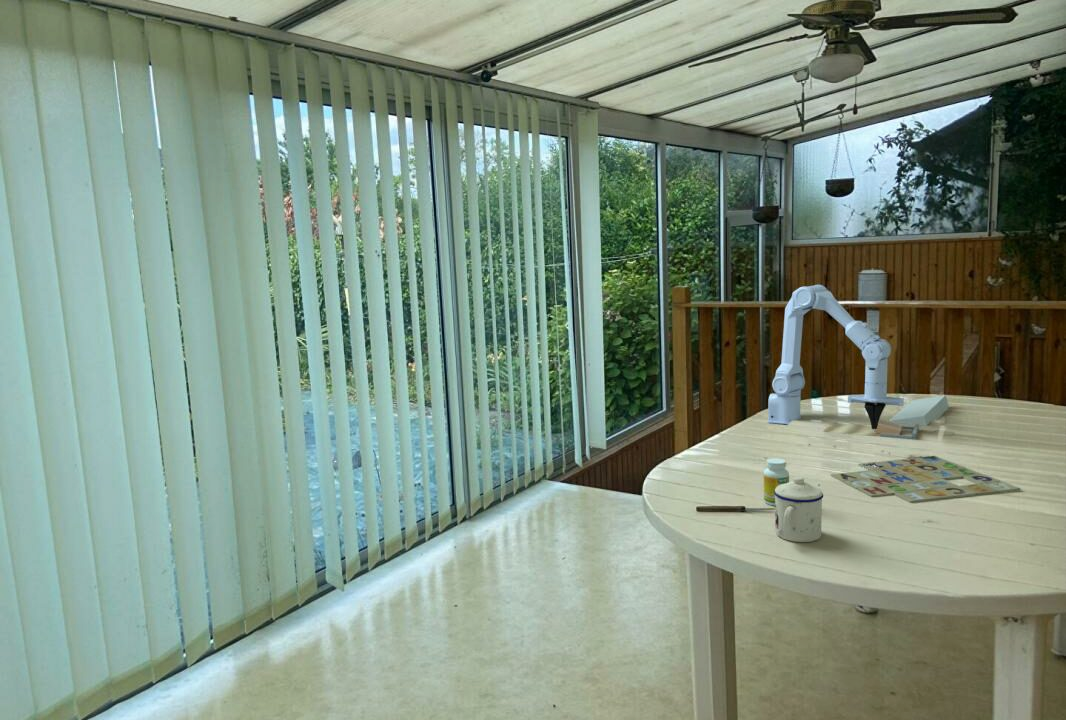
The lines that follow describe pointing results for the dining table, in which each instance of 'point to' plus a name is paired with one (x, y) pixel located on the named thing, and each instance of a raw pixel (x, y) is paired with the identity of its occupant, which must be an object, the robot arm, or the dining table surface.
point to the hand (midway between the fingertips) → (874, 428)
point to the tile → (888, 428)
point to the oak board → (851, 429)
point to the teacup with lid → (798, 511)
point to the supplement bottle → (774, 478)
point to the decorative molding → (922, 411)
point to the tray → (913, 437)
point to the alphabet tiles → (921, 480)
